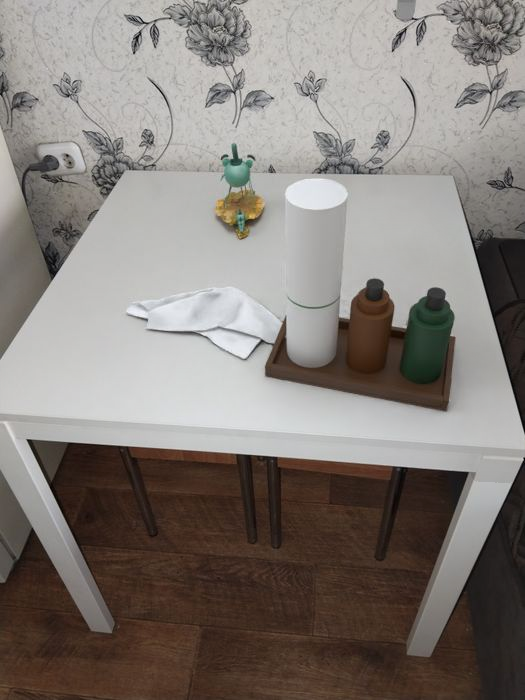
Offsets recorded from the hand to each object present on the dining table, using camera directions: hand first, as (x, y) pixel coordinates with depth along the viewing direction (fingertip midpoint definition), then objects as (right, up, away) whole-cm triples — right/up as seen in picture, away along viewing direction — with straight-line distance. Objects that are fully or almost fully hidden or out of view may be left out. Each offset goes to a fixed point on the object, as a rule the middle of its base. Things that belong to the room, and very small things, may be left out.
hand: (410, 5), depth 66 cm
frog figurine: (-21, -12, +48) cm, 54 cm away
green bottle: (+5, -41, +16) cm, 44 cm away
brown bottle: (-2, -40, +17) cm, 44 cm away
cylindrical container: (-9, -39, +19) cm, 44 cm away
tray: (-3, -40, +18) cm, 44 cm away
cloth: (-24, -33, +26) cm, 49 cm away
